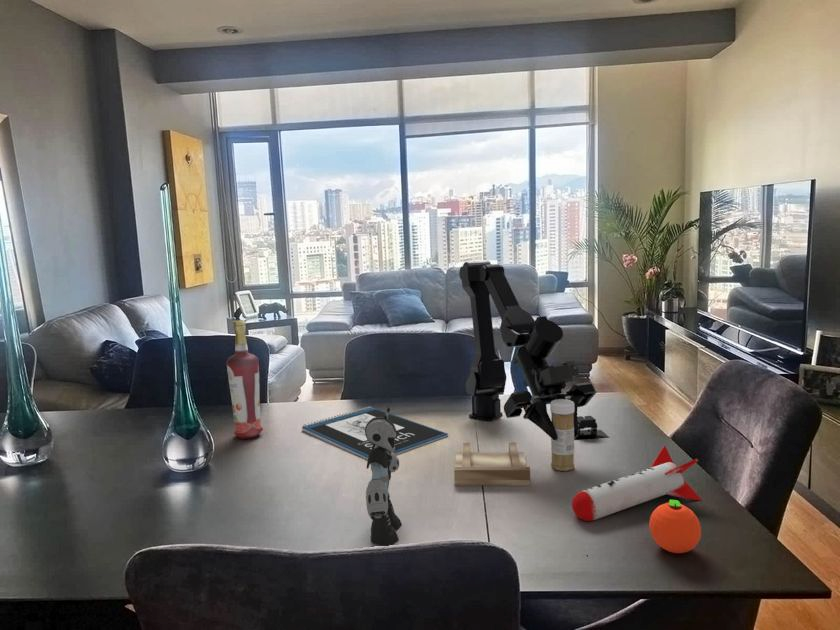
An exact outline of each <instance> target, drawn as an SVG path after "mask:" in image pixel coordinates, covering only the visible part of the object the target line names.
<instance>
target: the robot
mask: <svg viewBox="0 0 840 630" xmlns="http://www.w3.org/2000/svg"><path fill="white" fill-rule="evenodd" d="M390 411H391V408H390V407H387V409H386V411H385V412H386V414H385V416H384V417H375V418H373V419H371V420H370V421H369V422H368V423H367V425H366V428H365V436H366V438H367V440H368V439H369V440H370V441H371V442H372V443H374V444H373V447H372V450H371V452H370V454H369V457H368V460H367V459H366V460H367V462H366V469H367V470H368V469H369V468H370V470H371V473H372V474H371V480H370V481H368V483H367V486H366V491H365V500H366V511H367V514H368V516H369V518H370V519H371V525H370V526H371V527H370V540H371V543H372V544H375V545H378V546H383V547H384V546H385V547H386V546H393V545H394V544H395V543H397V542H398V541H399V540H400V539H399V537H398V534H397V532H396V530H399V529H400V527H402V525H403V524H402V521H401V519H400V518H399V517H398V516H397V515H396V513H395V509H394V506H393V503H392V500H391V499H390V496H391V495H390V493H389V485H390V481H391V477H392V473H395V472H396V471H397V470H399V467H400V460H399V457H398V455H395V454H394V453H393V452H394V450H395V447H394V442H395V437H396V428H395V426H394V423H392V422H391V421H390V420H389V419H388V416H389V413H390Z"/></svg>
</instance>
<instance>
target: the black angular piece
mask: <svg viewBox="0 0 840 630" xmlns="http://www.w3.org/2000/svg"><path fill="white" fill-rule="evenodd" d="M577 419H578V432H579V435H578V436H577V437H575V436H574V441H583V440H584V441H586V440H598V439H610V436H609V435H608V434H606V433H605V432H604V431H603V430H602V429H598V422H597V419H595V418H594V417H593V416H592V415H585V416H582V415H581V416H579V415H578V416H577ZM587 428H589V429H587Z"/></svg>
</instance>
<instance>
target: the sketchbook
mask: <svg viewBox="0 0 840 630" xmlns="http://www.w3.org/2000/svg"><path fill="white" fill-rule="evenodd" d="M385 414H386V411H385V410H384V411H383V410H382V409H378V408H375V407H372V406H369V405H368V406H366V407H362V408H359V409H356V410H351V411H350V412H349V411H348V412H344V413H341V414H336V415H334V416H331V417H327V418H323V419H319V420H316V421H314V422H310V423H307V424H306V423H304V424H303V425H302V427H301V429H302V430H301V431H302V432H304V433H307V434H308V435H311V436H313V437H315V438H317V439H320V440H322V441H325V442H326V443H329V444H331V445H333V446H335V447H338V448H341V449H343V450H344V451H347V452H348V453H352V454H353V455H356V456H358V457H360V458H363V459H365V460H368V457H369V454H370V452H371V450H372V447H373V444H374V443H372V442H371V441H370V440H369V439H368V440H367V438H366V436H365V428H366V425H367V423H368V422H369V421H370V420H371V419H373V418H375V417H384V416H385ZM388 419H389V420H390V421H391V422H392V423H394V426H395V428H396V437H395V442H394V447H395V450H394V452H393V453H394V454H395V455H396V456H398V455H400V454H403V453H406V452H409V451H411V450H414V449H416V448H419V447H422V446H425V445H428V444H430V443H432V442H436V441H439V440H441V439H444V438H447V437H449V433H447V432H444V431H442V430H439V429H436V428H433V427H430V426H427V425H424V424H423V423H418V422H415V421H413V420H411V419H407V418H404V417H401V416H398V415H395V414H393V413H390V412H389V416H388Z"/></svg>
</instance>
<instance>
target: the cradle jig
mask: <svg viewBox="0 0 840 630" xmlns="http://www.w3.org/2000/svg"><path fill="white" fill-rule="evenodd" d="M530 468H531V467H530V466H528V464H527V462H526V457H525V453H524V451H519V450H518V446H517V442H508V451H471V442H463V443H462V451H457V452H455V466H454V469H453V470H454V471H453V472H454V474H453V476H454V486H531V469H530Z"/></svg>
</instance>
